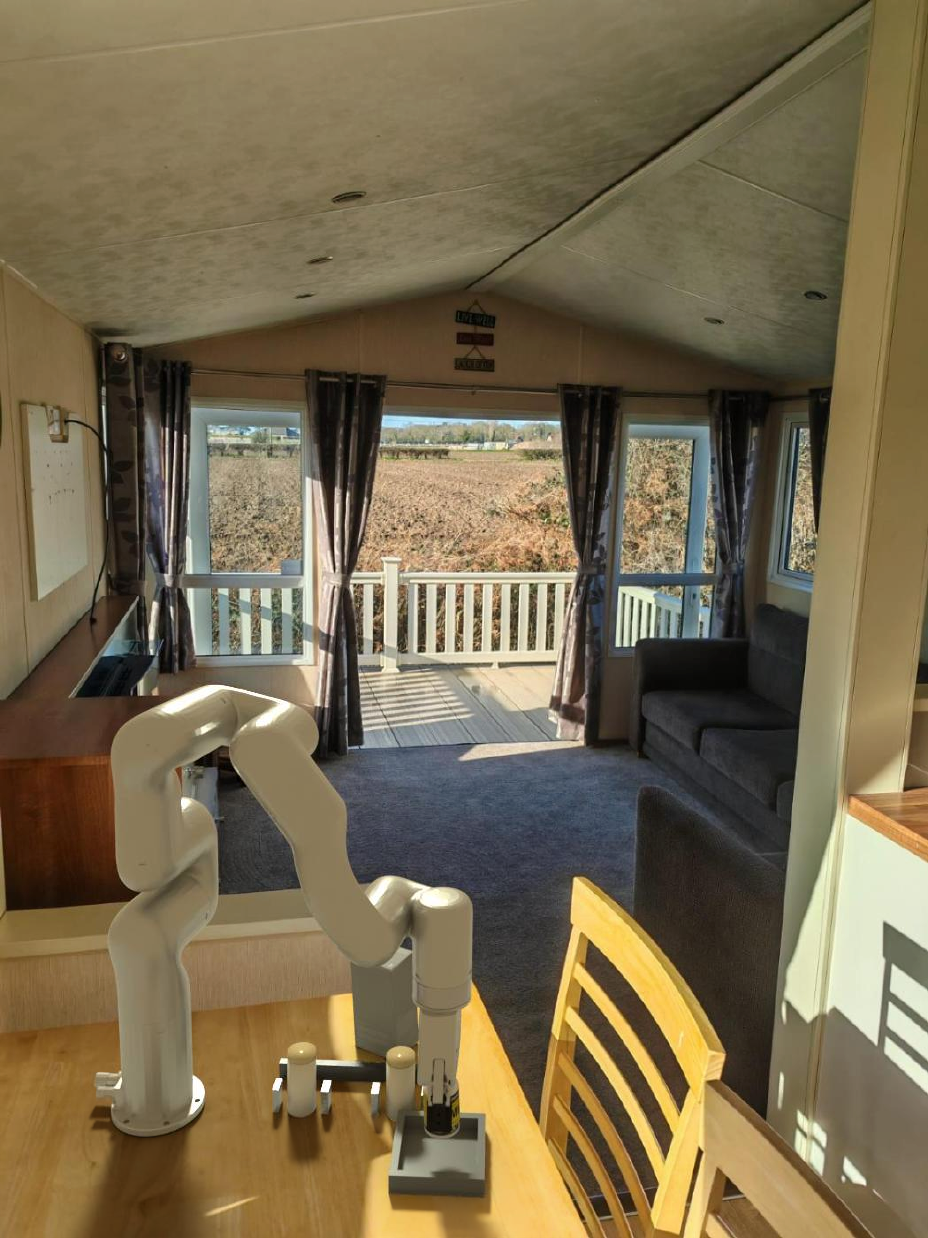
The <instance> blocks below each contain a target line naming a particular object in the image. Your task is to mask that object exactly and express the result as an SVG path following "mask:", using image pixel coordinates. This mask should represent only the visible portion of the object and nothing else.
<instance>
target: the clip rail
mask: <svg viewBox="0 0 928 1238" xmlns="http://www.w3.org/2000/svg"><path fill="white" fill-rule="evenodd" d="M278 1064H279V1066H278V1068H279V1069H278V1070H279V1072H278V1073H279V1078H276V1079H275V1082H274V1084H273V1087H272V1113H280V1110H281V1107H282V1106H281V1105H282V1103H283V1080H287V1058H283V1057H282V1058H280V1061H279V1063H278ZM417 1074H418V1063H415V1085H418V1083H417ZM316 1081H323V1083H322V1087H321V1090H320V1114H321V1115H329V1113H330V1109H331V1106H332V1105H331V1104H332V1081H333V1082H350V1083H351V1082H354V1083H355V1082H356V1083H372V1086H371V1087H372V1088H371V1091H370V1116H371V1117H379V1113H380V1107H381V1083H382V1084H386V1061H384V1062H382V1061H361V1060H360V1061H359V1060H358V1061H357V1060H356V1061H355V1060H336V1059H335V1060H334V1059H332V1060H331V1059H316ZM421 1087H422V1088H421V1094H420V1097H421V1098H420V1101H421V1102H420V1111H424V1107H423V1086H421Z"/></svg>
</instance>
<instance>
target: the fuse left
mask: <svg viewBox="0 0 928 1238" xmlns="http://www.w3.org/2000/svg"><path fill="white" fill-rule="evenodd" d="M286 1057H287V1079H286V1080H287V1082H286V1083H287V1084H286V1085H287V1086H286V1087H287V1089H286V1090H287V1091H286V1093H287V1094H286V1099H287V1100H286V1106H287V1107H286V1110H287V1112H288V1114H289V1115H290V1116H292V1117H296V1118H304V1117H308V1116H310V1115H311V1114H313V1113H314V1112H315V1110H316V1109H317V1080H316V1060H317V1047H316V1046H315V1045H314V1044H313V1043H311V1042H309V1041H308V1042H307V1041H300V1042H296V1043H293V1044H292V1045H290V1046H289V1047H288V1049H287V1055H286Z"/></svg>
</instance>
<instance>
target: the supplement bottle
mask: <svg viewBox="0 0 928 1238" xmlns="http://www.w3.org/2000/svg"><path fill="white" fill-rule="evenodd" d="M432 1078H434V1075H432ZM444 1078H447V1076H444ZM428 1082H429V1081H428ZM428 1090H429V1084H427V1085H426V1086H423V1107H424V1128H425V1131H426V1133H427V1134H428V1135H429V1136H431V1137H433V1138H437V1139H446V1138H449V1137H452V1136H454V1135H455V1134H456V1133H457V1132H458V1130H459V1128H460V1113H461V1110H460V1109H461V1108H460V1104H461V1103H460V1084H459V1080H458V1079H457V1078H456V1081H455V1084H454V1085H453V1086H452V1087H450V1101H452V1131H451V1132H429V1131H427V1101H428ZM443 1093H445V1095H446V1087H443Z"/></svg>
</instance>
